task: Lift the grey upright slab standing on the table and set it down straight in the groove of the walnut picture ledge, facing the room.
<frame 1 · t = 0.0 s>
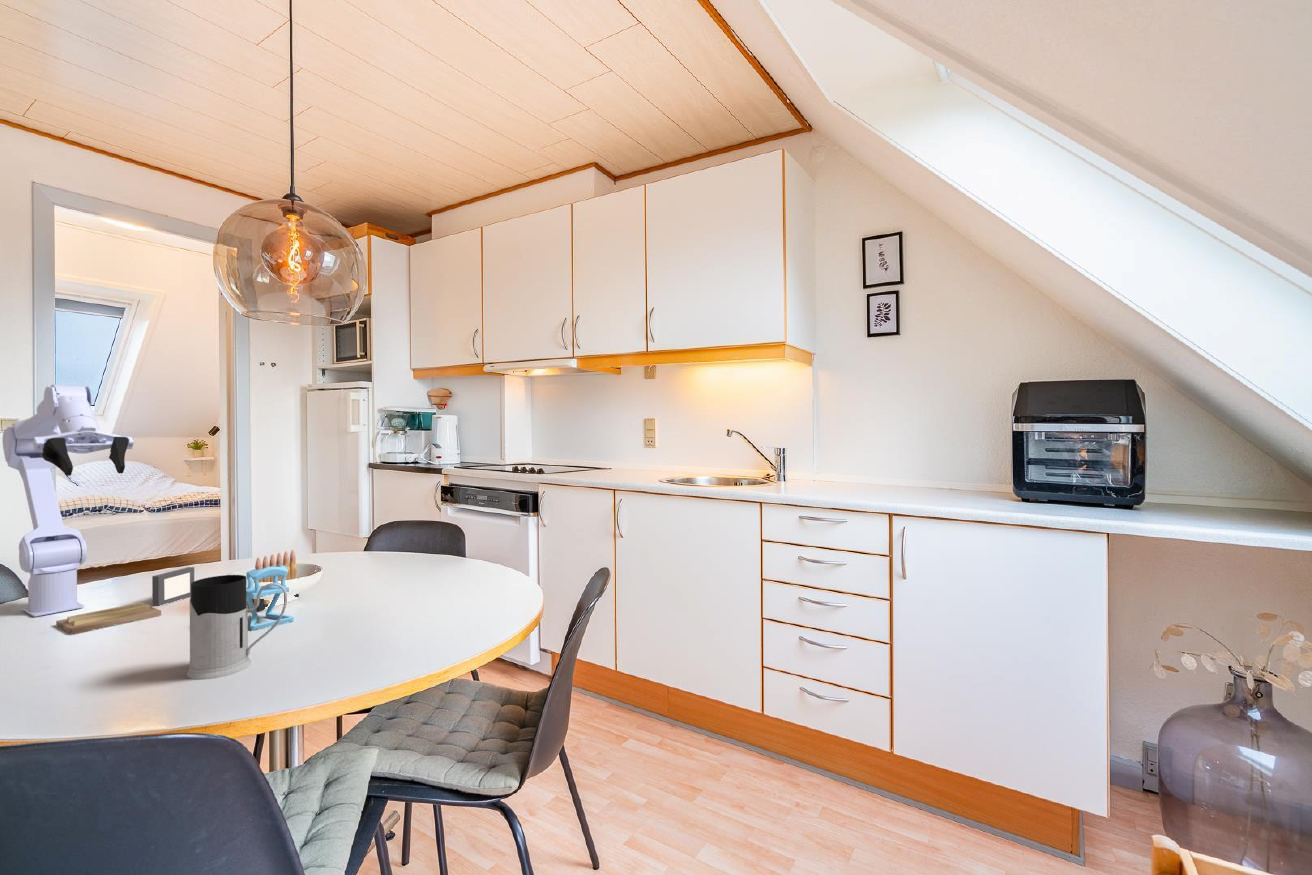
hand: (96, 470, 114), 32 cm above the table, tool tilted 50°, fingers open, 7 cm apart
glass holder: (238, 667, 98), on the table
picture ledge: (110, 620, 122), on the table
grey upright slab: (174, 601, 136), on the table
chair: (266, 622, 121), on the table
ammunition clip: (276, 605, 133), on the table
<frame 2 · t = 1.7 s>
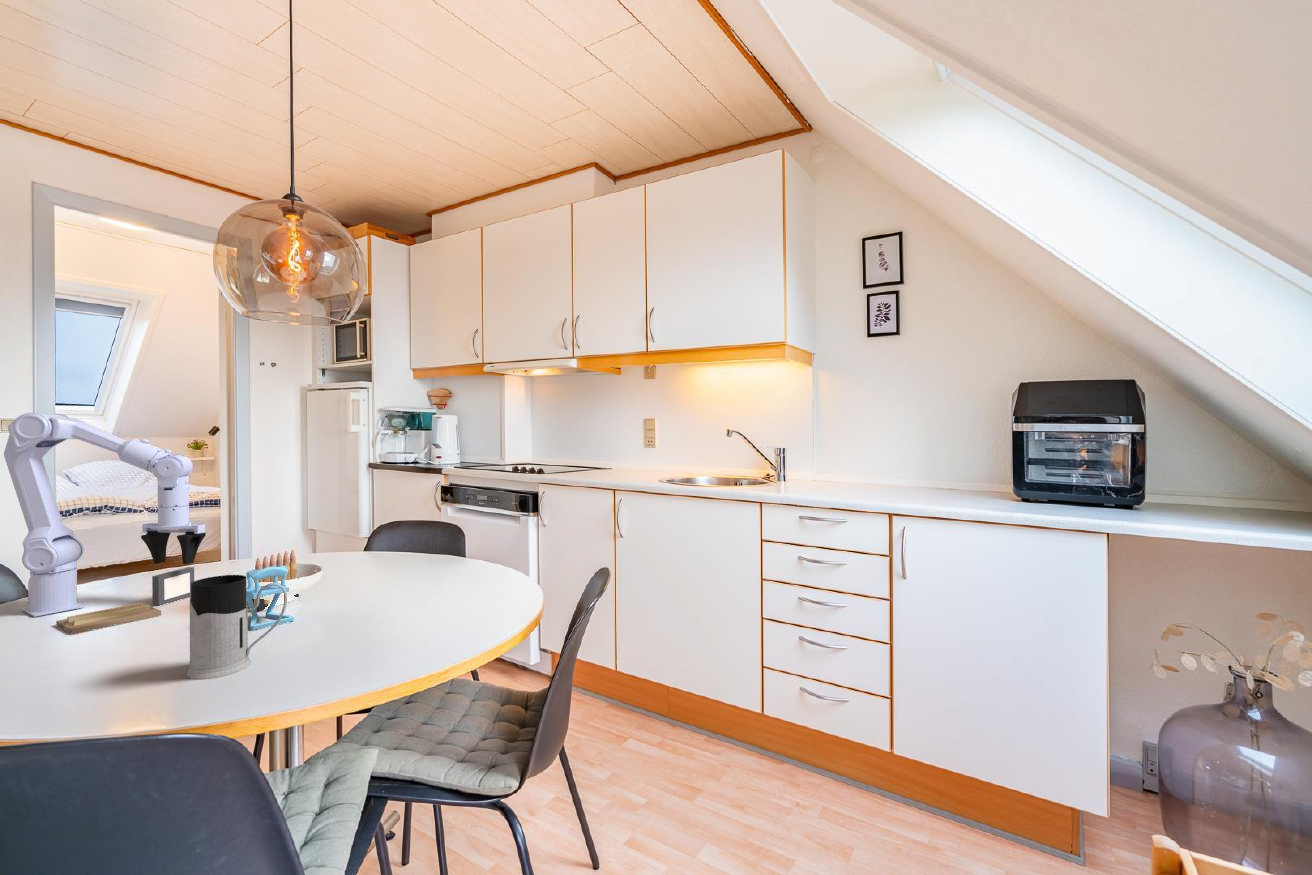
hand: (174, 563, 136), 9 cm above the table, tool pointing down, fingers open, 7 cm apart
nothing on the table moved.
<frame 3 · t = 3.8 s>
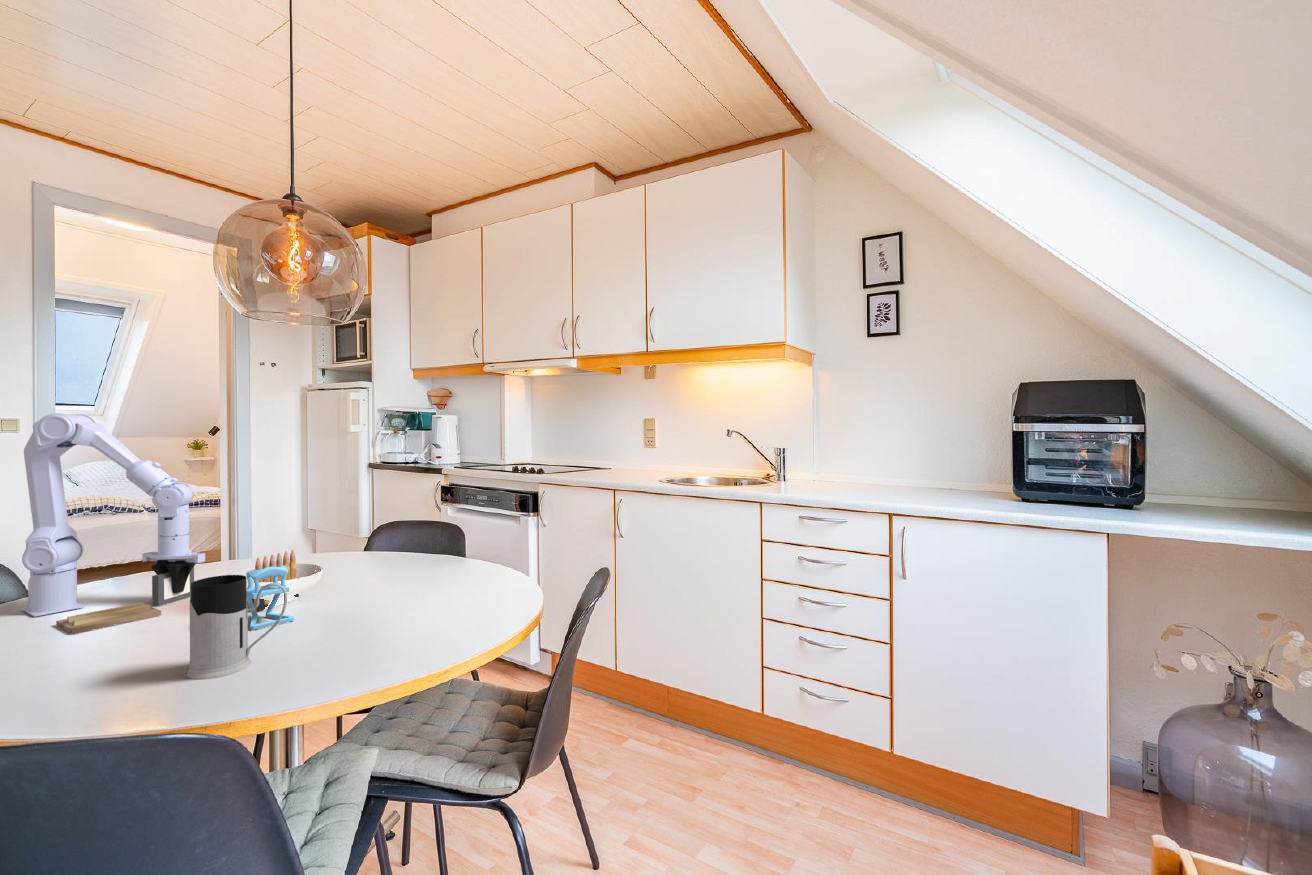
hand: (174, 592, 136), 2 cm above the table, tool pointing down, fingers closed on grey upright slab, 2 cm apart
grey upright slab: (173, 600, 136), on the table, touching gripper
everything else where it was.
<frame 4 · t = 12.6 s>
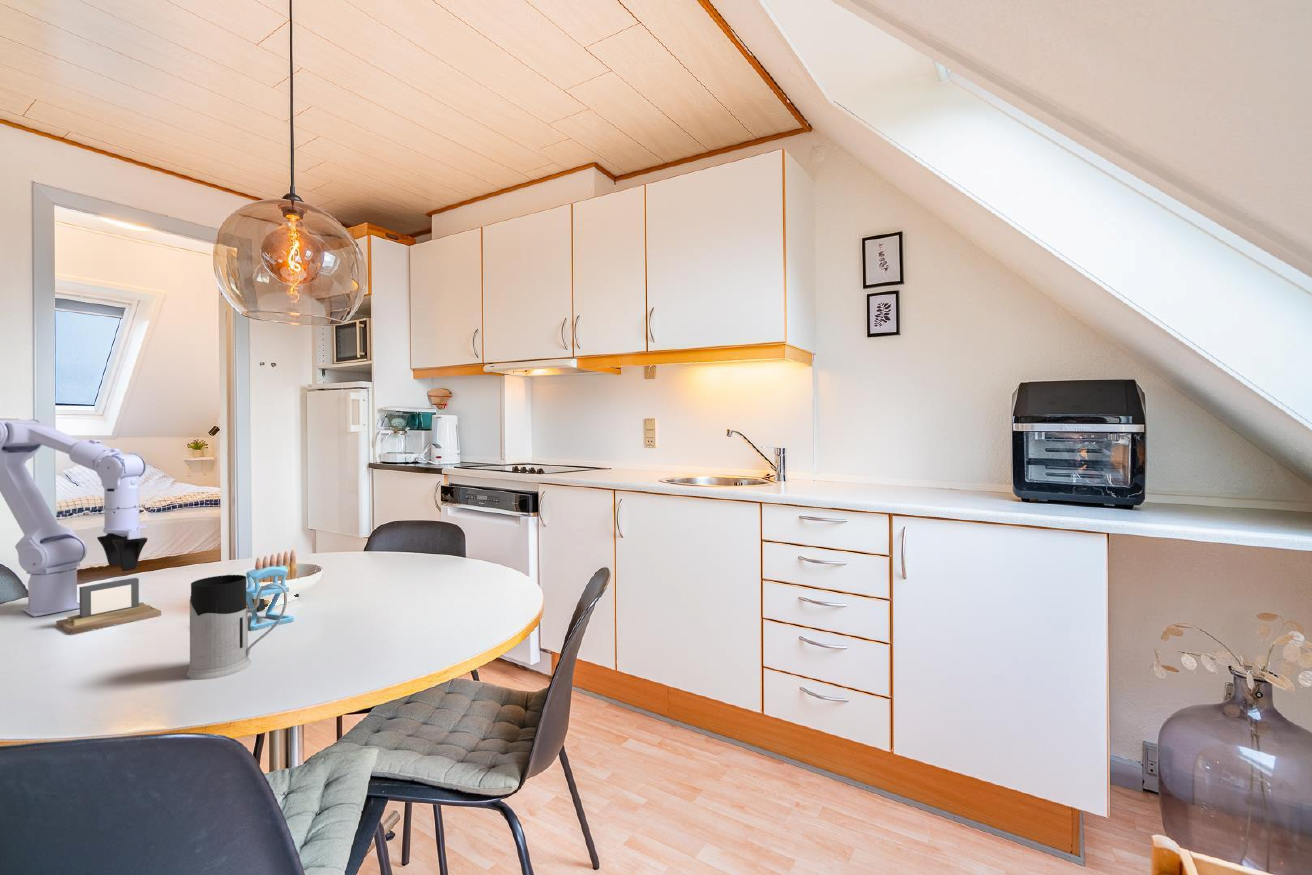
hand: (122, 568, 129), 9 cm above the table, tool pointing down, fingers open, 7 cm apart
grey upright slab: (110, 615, 122), point 1 cm above the table, touching picture ledge
everything else where it was.
at the end: grey upright slab 0.0 cm off-centre on the picture ledge, point 1.0 cm above the picture ledge's base; grey upright slab tilted 0°; the gripper is holding nothing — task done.
